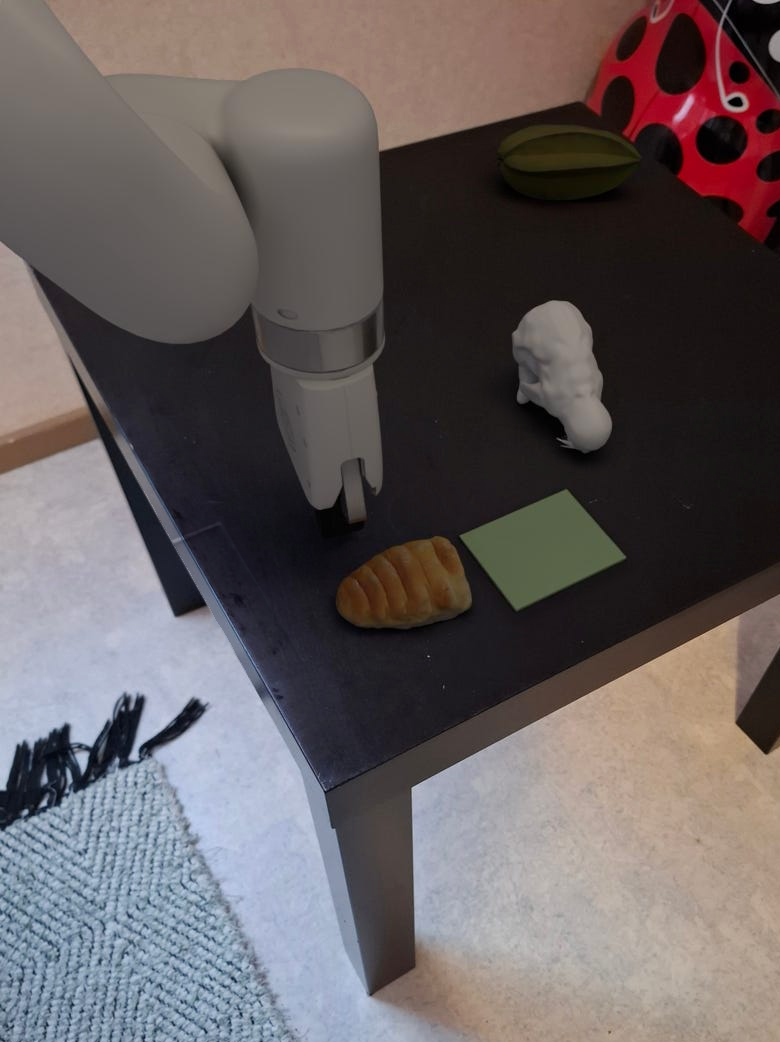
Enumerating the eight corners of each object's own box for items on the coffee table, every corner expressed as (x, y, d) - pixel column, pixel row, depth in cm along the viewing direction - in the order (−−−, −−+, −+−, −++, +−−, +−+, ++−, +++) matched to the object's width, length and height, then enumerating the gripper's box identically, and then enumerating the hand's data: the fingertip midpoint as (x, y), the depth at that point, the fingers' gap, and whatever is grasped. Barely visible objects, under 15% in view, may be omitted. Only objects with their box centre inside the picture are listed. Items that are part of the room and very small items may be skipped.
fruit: (556, 151, 101) (564, 88, 96) (638, 197, 97) (652, 135, 91) (484, 187, 96) (488, 123, 91) (567, 238, 92) (577, 174, 87)
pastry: (355, 655, 63) (351, 623, 60) (323, 583, 66) (318, 550, 63) (478, 614, 65) (481, 581, 62) (442, 547, 69) (443, 513, 66)
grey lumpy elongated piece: (582, 281, 74) (650, 386, 69) (563, 360, 81) (624, 460, 76) (511, 297, 72) (575, 406, 67) (499, 376, 79) (556, 479, 74)
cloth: (515, 612, 66) (516, 609, 65) (459, 538, 69) (459, 535, 69) (625, 559, 69) (626, 557, 69) (566, 491, 73) (566, 488, 72)
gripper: (224, 255, 55) (265, 469, 70) (290, 417, 48) (320, 618, 63) (343, 234, 57) (358, 448, 72) (424, 387, 50) (422, 589, 65)
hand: (340, 526), depth 68 cm, fingers closed
